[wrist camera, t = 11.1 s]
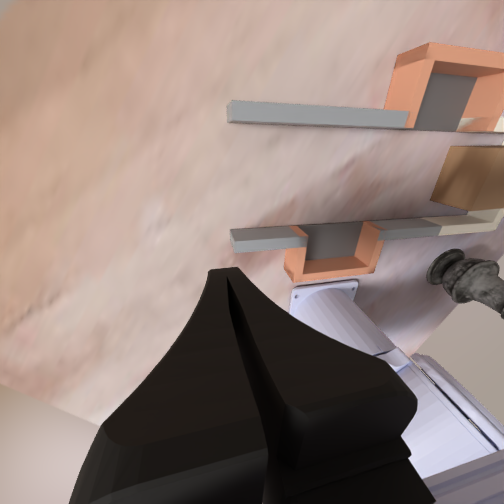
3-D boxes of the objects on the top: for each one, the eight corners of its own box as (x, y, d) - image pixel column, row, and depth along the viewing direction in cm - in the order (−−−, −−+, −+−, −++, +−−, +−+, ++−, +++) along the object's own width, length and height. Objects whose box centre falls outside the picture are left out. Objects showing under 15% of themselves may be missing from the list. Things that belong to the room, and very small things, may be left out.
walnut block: (473, 196, 24) (520, 206, 20) (428, 199, 23) (470, 211, 19) (497, 145, 21) (555, 147, 18) (448, 146, 20) (500, 148, 17)
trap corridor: (454, 250, 27) (477, 260, 25) (231, 274, 21) (235, 289, 19) (545, 73, 19) (590, 65, 17) (224, 33, 13) (230, 13, 11)
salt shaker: (471, 240, 27) (645, 306, 16) (458, 278, 30) (599, 354, 19) (429, 254, 26) (582, 331, 16) (420, 291, 29) (544, 376, 19)
